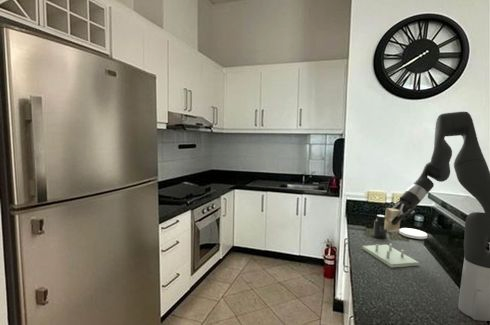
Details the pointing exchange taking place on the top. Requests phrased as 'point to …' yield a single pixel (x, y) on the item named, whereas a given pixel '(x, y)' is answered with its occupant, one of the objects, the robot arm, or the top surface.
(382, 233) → the supplement bottle
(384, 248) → the peg board
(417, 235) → the plastic lid
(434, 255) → the top surface
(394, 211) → the ash block
